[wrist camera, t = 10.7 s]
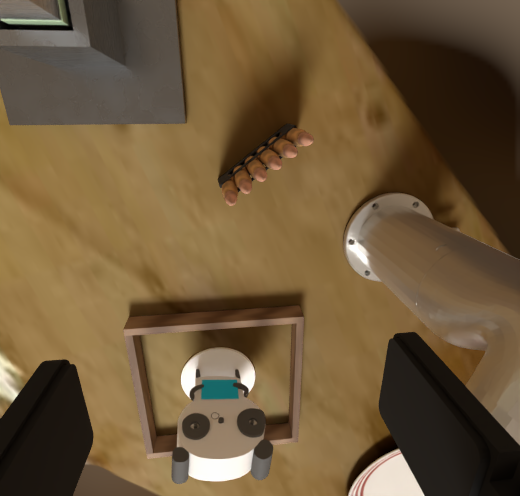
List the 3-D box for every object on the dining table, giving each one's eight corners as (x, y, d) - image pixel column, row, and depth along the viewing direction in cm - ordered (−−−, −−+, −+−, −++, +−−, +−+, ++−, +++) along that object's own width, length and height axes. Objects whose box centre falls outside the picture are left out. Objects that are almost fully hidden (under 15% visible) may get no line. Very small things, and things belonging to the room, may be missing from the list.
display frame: (299, 305, 48) (303, 316, 46) (294, 426, 57) (298, 442, 54) (129, 316, 46) (123, 329, 43) (151, 441, 55) (147, 458, 52)
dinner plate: (318, 512, 67) (323, 531, 64) (387, 414, 59) (397, 431, 56) (426, 530, 74) (435, 548, 71) (501, 444, 66) (514, 460, 63)
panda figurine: (262, 348, 50) (279, 435, 37) (254, 405, 54) (267, 503, 41) (182, 346, 49) (167, 437, 35) (180, 405, 53) (166, 508, 39)
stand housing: (169, -81, 31) (144, -184, 21) (186, 123, 38) (173, 125, 27) (-38, -92, 29) (-183, -211, 19) (17, 124, 36) (-67, 127, 25)
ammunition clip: (287, 122, 39) (314, 124, 28) (296, 135, 40) (326, 142, 29) (217, 179, 41) (216, 202, 29) (227, 191, 41) (229, 217, 30)
